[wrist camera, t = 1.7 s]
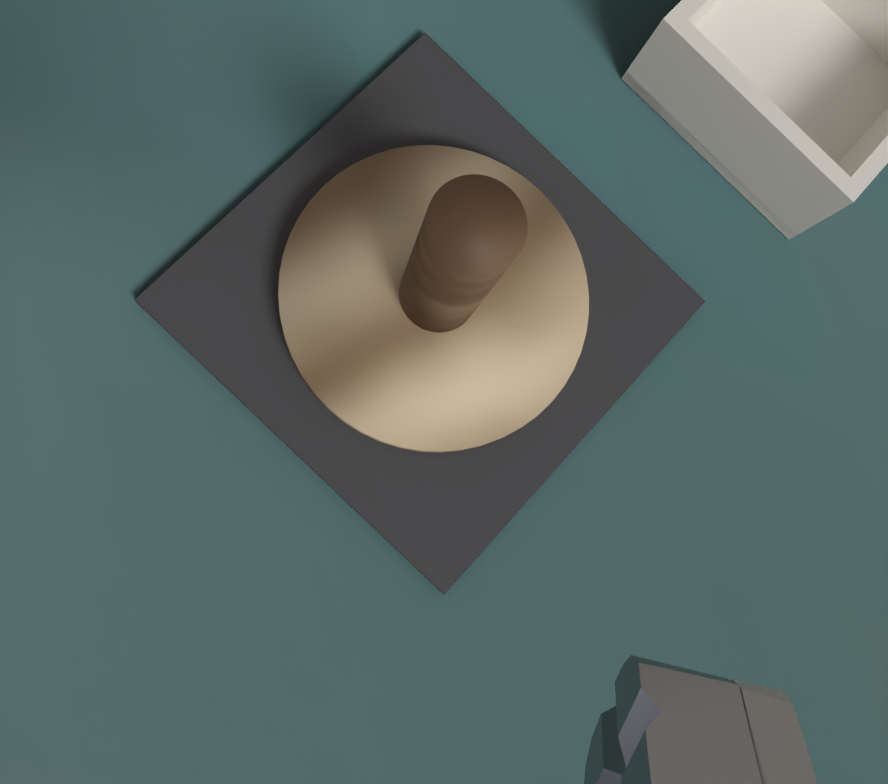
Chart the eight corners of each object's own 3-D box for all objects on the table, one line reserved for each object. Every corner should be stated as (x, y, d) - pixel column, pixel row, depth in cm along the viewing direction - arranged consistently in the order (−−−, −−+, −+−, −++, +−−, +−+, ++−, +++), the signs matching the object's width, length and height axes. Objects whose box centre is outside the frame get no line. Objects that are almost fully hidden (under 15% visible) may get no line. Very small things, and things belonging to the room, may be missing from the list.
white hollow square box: (621, 78, 36) (662, 18, 32) (760, -62, 38) (817, -136, 34) (788, 239, 37) (853, 202, 32) (918, 91, 39) (996, 37, 34)
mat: (136, 302, 32) (134, 299, 32) (424, 38, 35) (425, 32, 35) (442, 593, 32) (444, 594, 32) (700, 303, 36) (705, 301, 35)
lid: (212, 300, 32) (174, 219, 23) (426, 97, 35) (465, -46, 26) (442, 518, 32) (490, 519, 23) (639, 300, 35) (750, 227, 26)
